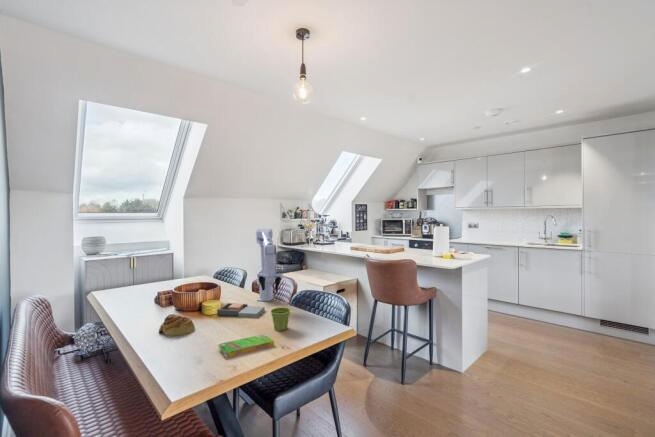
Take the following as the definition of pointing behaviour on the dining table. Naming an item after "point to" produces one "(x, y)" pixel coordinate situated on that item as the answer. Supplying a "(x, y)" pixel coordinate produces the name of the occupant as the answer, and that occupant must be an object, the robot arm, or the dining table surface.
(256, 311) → the slate plate
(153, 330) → the dining table surface
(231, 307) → the block
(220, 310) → the box
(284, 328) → the plant pot
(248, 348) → the game box
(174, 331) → the pastry
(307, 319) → the dining table surface
